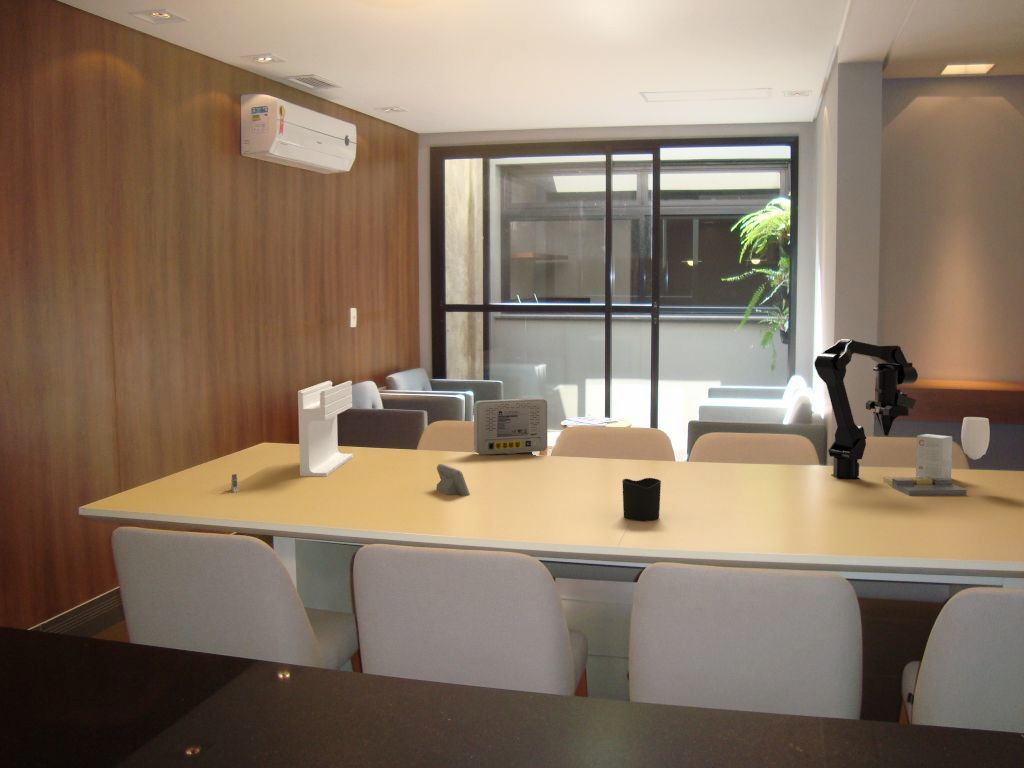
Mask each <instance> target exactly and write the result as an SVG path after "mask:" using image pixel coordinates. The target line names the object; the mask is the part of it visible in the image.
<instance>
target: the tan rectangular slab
mask: <svg viewBox="0 0 1024 768" xmlns="http://www.w3.org/2000/svg"><path fill="white" fill-rule="evenodd" d="M892 478H893V477H883V478H882V479H883V483H885V484H886V483H887V485H889V486H890V487H892ZM908 478H910V479H912V480H914V485H916V484H932V480H931V479H930V478H931V477H916V476H915V477H912V476H911V477H908Z"/></svg>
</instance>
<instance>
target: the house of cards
mask: <svg viewBox="0 0 1024 768" xmlns="http://www.w3.org/2000/svg"><path fill="white" fill-rule="evenodd" d="M237 475H238V474H237V473H233V474H231V484H230V485H231V487H230V488H231V491H232V492H233V493H235V494H236V493H239V487H238V476H237ZM222 491H223V493H224V492H227V490H222Z"/></svg>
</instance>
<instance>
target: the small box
mask: <svg viewBox="0 0 1024 768" xmlns="http://www.w3.org/2000/svg"><path fill="white" fill-rule="evenodd" d="M952 454H953V436H951V435H949V436H948V435H941V434H929V433H925V434H918V435H917V436H916V458H915V461H916V462H915V466H916V467H915V469H916V470H915V477H916V476H919V477H931V478H950V479H952V467H953V466H952V465H953V464H952V463H953V462H952V460H953V455H952Z"/></svg>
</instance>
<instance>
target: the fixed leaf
mask: <svg viewBox="0 0 1024 768" xmlns="http://www.w3.org/2000/svg"><path fill="white" fill-rule="evenodd" d="M891 478H892V486H891V488H893V489H894V490H895V491H899V492H900V493H903V494H905V495H907V496H957V497H958V496H959V497H960V496H967V491H968V490H967V489H966V488H963V487H961V486H958V485H956V484H954V483H953V482H954V481H953V480H954V479H952V478H950V479H949V478H930V479H931V480H932V484H916V485H914V480H912V479H910V478H909V477H891Z"/></svg>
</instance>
